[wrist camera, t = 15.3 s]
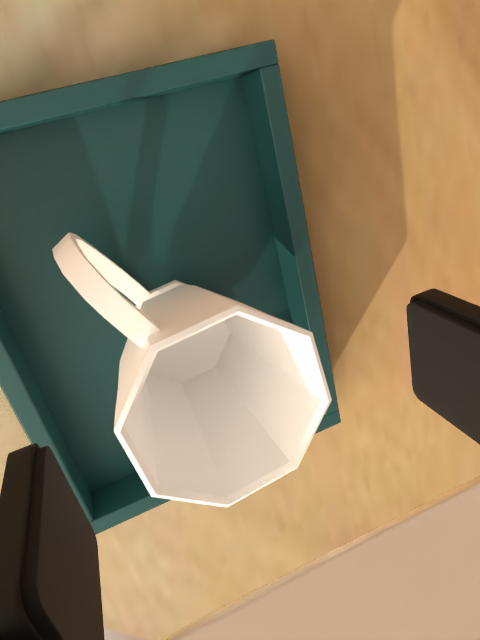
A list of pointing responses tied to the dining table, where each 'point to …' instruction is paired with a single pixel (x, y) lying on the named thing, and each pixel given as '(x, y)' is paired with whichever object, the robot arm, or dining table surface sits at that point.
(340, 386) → the dining table surface
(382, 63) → the dining table surface
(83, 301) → the tray
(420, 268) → the dining table surface
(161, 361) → the cup
